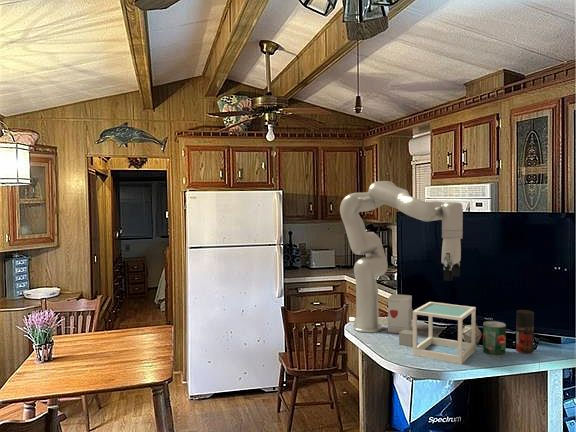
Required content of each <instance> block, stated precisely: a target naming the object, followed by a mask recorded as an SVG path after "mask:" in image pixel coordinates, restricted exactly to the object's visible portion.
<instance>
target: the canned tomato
mask: <svg viewBox="0 0 576 432" xmlns="http://www.w3.org/2000/svg"><path fill="white" fill-rule="evenodd" d="M482 326H483V327H482V333H483V335H482V353H483V354H484V355H486V356H491V357H504V356H506V354H507V349H506V343H507V342H506V341H507V338H506V337H507V336H506V335H507V333H506V332H507V324H506V323H505V322H501V321H495V320H487V321H484V322H483V324H482Z"/></svg>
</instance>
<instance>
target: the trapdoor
mask: <svg viewBox="0 0 576 432" xmlns="http://www.w3.org/2000/svg"><path fill="white" fill-rule="evenodd" d="M467 310H468V309H462V308H455V307H448V306H441V305H434V304H431V305H430V306H428V307H426V308H424V309H423V310H421V312H428V313H436V314H443V315H451V316H458V317H459V316H461V315H462V314H463V313H465V312H466V311H467Z"/></svg>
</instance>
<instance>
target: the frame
mask: <svg viewBox="0 0 576 432" xmlns="http://www.w3.org/2000/svg"><path fill="white" fill-rule="evenodd" d="M431 304H434V305H441V306H448V307H455V308H462V309H468V310H467V311H466V312H465V313H463V314H462V315H461V316H459V317H458V316H451V315H443V314H436V313H428V312H421V310H423V309H424V308H426V307H428V306H430V305H431ZM476 310H477V307H476V306H469V305H459V304H451V303H445V302H435V301H429V302H426V303H425V304H423V305H421V306H419V307H417V308H416V309H414V310H412V331H413V346H412V356H414V355H416V356H415V357H420V356H421V358H425V357H426V359H430V358H431V360H437V361H443V362H447V363H453V364H458V365H463V363H464V362H465V361H466V360H467V359H468V358H469V357H471V355H473V354H474V352H475V351H476V324H477V323H476V321H477V318H476V315H477V314H476V313H477V312H476ZM470 315H471V320H470V321H471V322H470V323H471V324H470V325H471V343H467V342H465V341H463V337H462V331H463V324H464V323H463V320H464V319H466V318H467V317H468V316H470ZM418 316H423V317H424V316H426V317H428V337H427V338H425V339H424V340H422V341H421V342H420V343H418ZM433 318H439V319H447V320H455V321H457V340H454V339H447V338H441V337H435V336H433V335H434V334H433V331H434V329H433V325H434V324H433V323H434V322H433ZM431 345H436V346H441V347H446V348H447V347H449V348H452V349H453V348H454V349H457V354H451V353H445V352H442V351H441V352H439V351H434V350H430V349H426V348H428V347H429V346H431Z"/></svg>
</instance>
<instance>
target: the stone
mask: <svg viewBox="0 0 576 432" xmlns="http://www.w3.org/2000/svg"><path fill="white" fill-rule="evenodd" d="M398 341H399V342H398V345H399V346H404V347H409V348H413V330H411V331H410V330H403V331H401V332H399V333H398Z"/></svg>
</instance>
